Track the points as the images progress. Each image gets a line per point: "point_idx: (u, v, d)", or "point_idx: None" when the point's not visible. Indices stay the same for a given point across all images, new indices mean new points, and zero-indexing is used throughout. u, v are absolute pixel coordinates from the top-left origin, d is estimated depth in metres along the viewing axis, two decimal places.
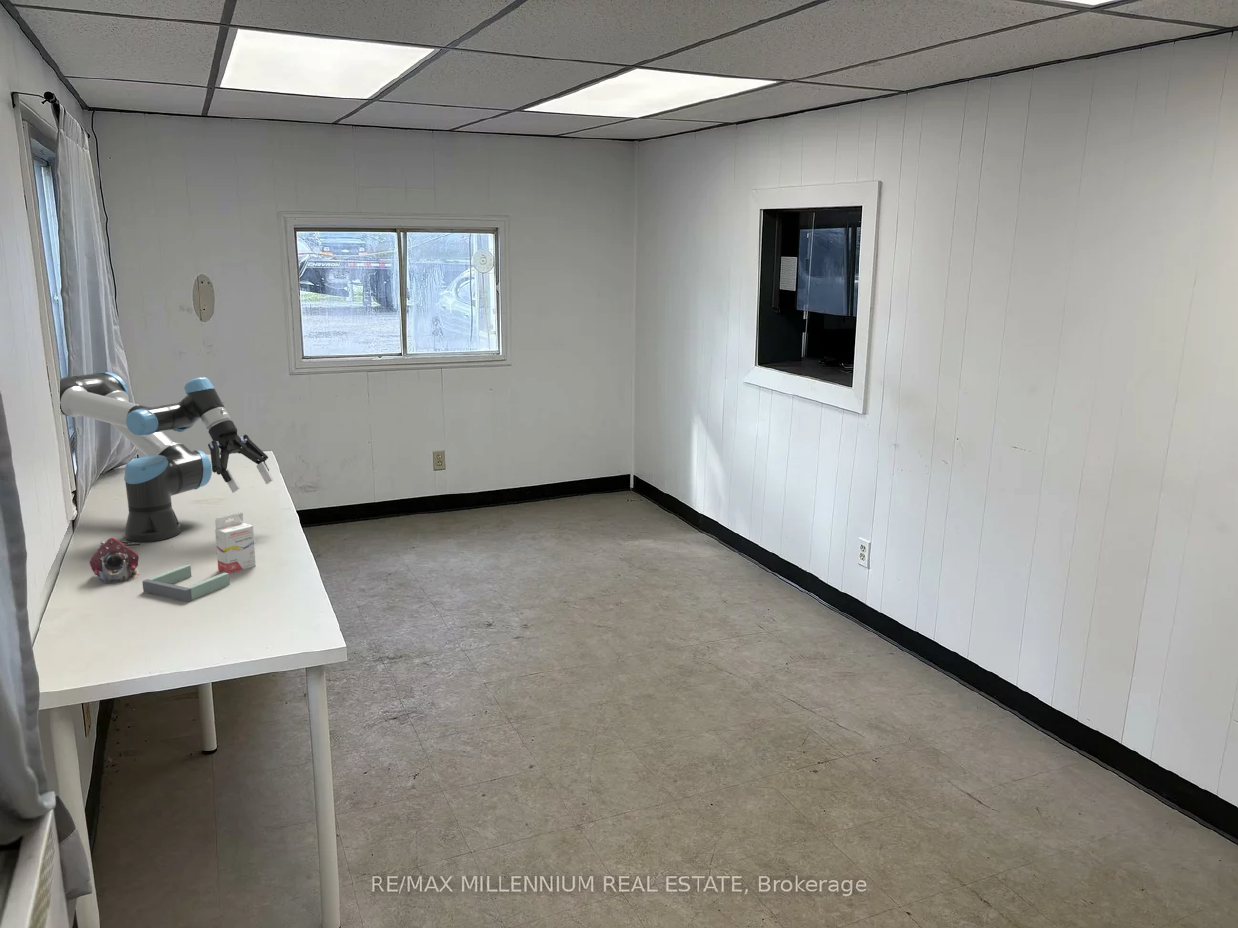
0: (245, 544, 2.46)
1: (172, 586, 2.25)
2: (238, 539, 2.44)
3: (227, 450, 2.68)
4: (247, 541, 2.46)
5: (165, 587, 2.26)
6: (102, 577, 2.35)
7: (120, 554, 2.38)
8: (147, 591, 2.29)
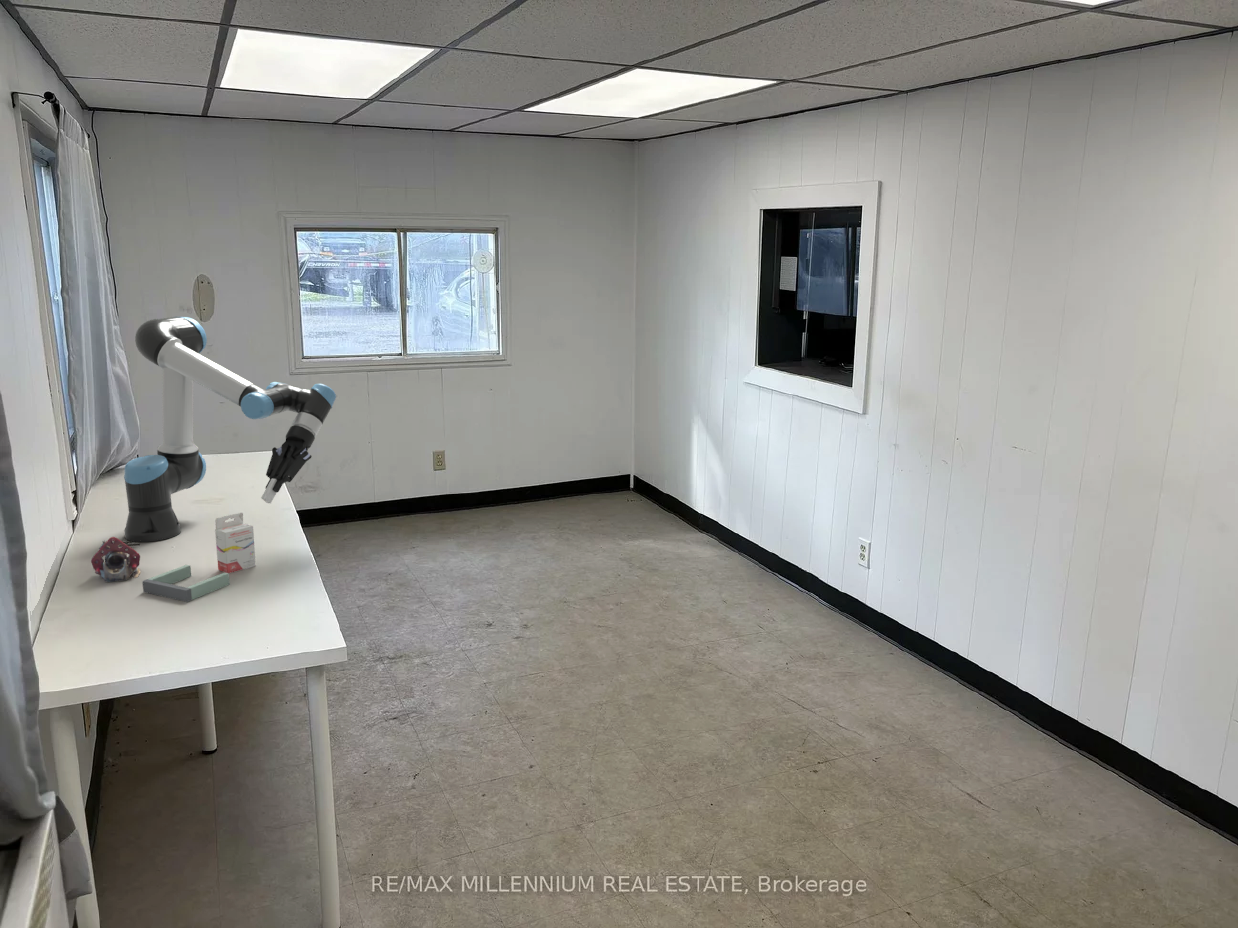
0: (245, 544, 2.46)
1: (172, 586, 2.25)
2: (238, 539, 2.44)
3: None
4: (247, 541, 2.46)
5: (165, 587, 2.26)
6: (103, 576, 2.36)
7: (121, 553, 2.39)
8: (147, 591, 2.29)
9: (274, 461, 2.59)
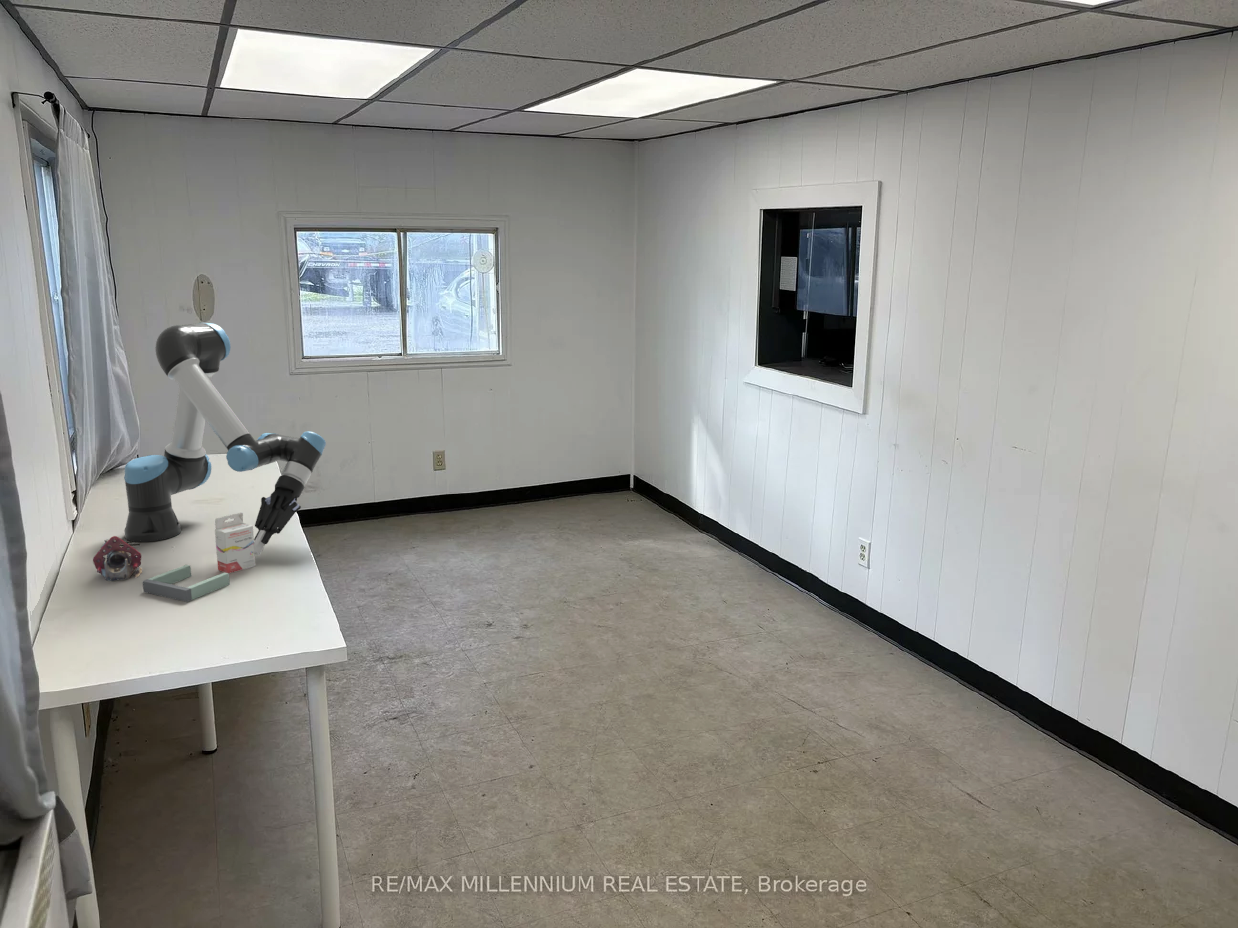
0: (245, 544, 2.46)
1: (172, 586, 2.25)
2: (238, 539, 2.43)
3: None
4: (247, 541, 2.46)
5: (165, 587, 2.26)
6: (104, 575, 2.37)
7: (123, 552, 2.40)
8: (147, 591, 2.29)
9: (263, 511, 2.57)
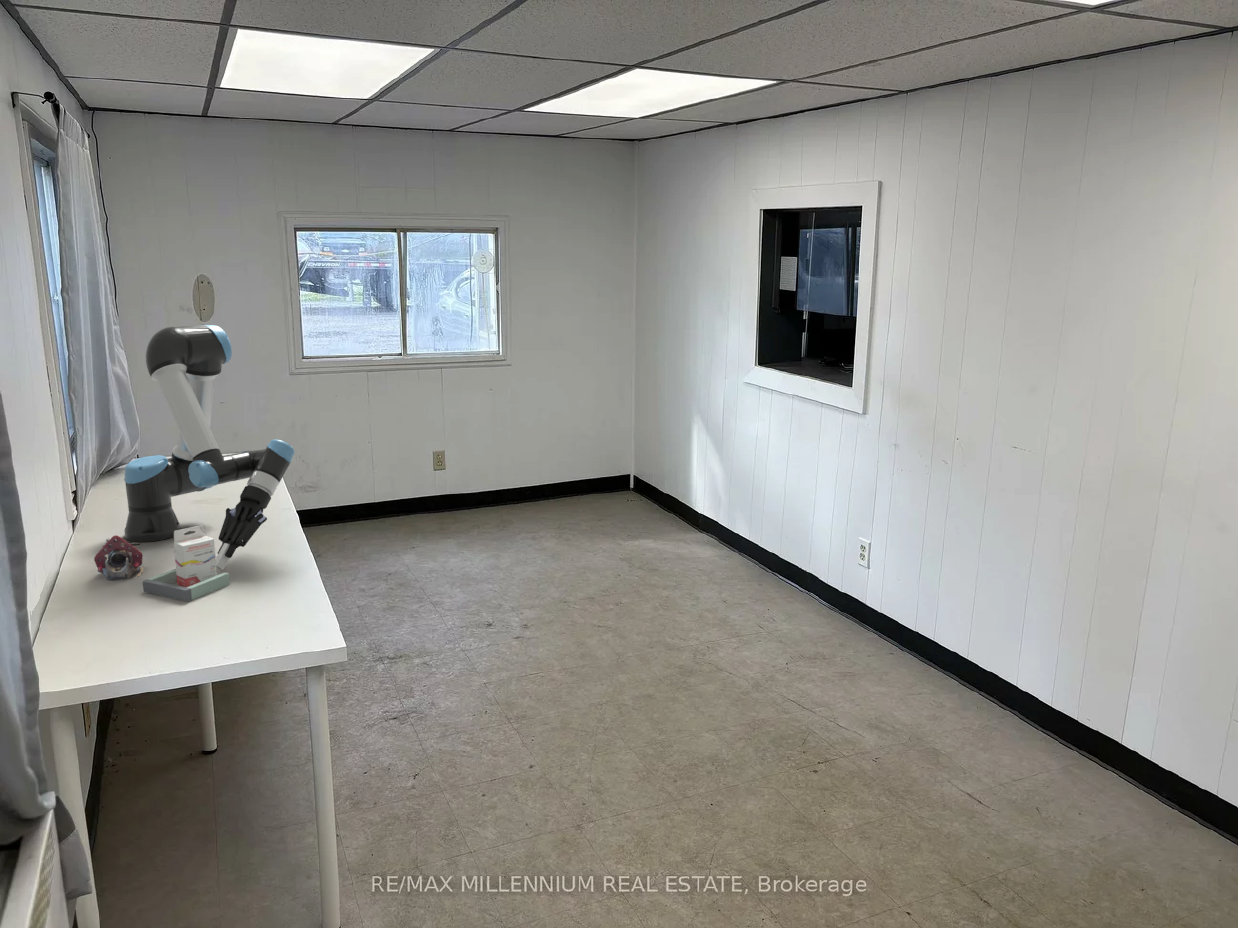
0: (205, 558, 2.34)
1: (172, 586, 2.25)
2: (197, 553, 2.32)
3: None
4: (208, 554, 2.34)
5: (165, 587, 2.26)
6: (105, 574, 2.37)
7: (124, 552, 2.40)
8: (147, 591, 2.29)
9: (227, 523, 2.46)
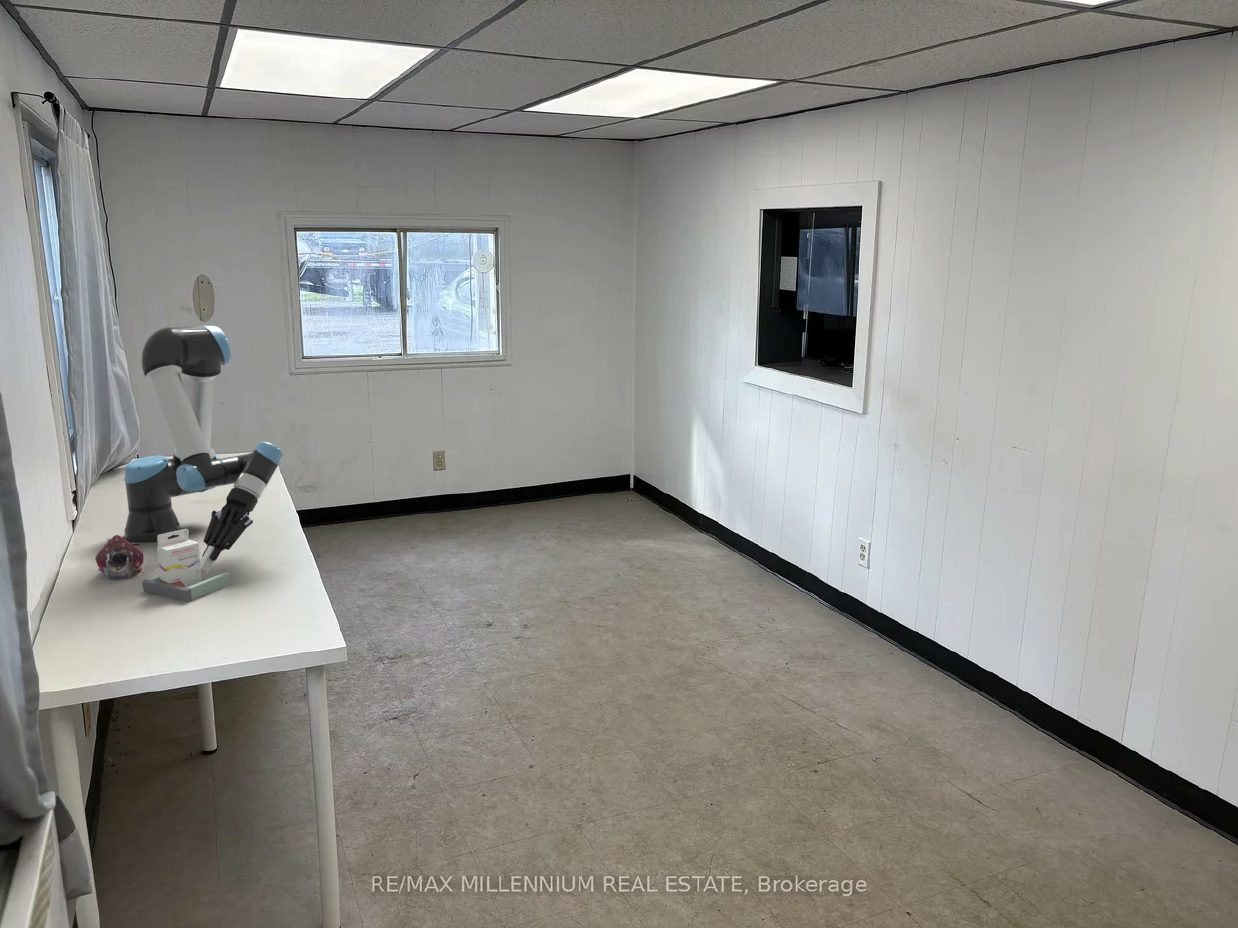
0: (190, 562, 2.31)
1: (172, 586, 2.25)
2: (181, 557, 2.29)
3: None
4: (192, 559, 2.31)
5: (165, 587, 2.26)
6: (106, 573, 2.38)
7: (125, 551, 2.41)
8: (147, 591, 2.29)
9: (213, 526, 2.42)
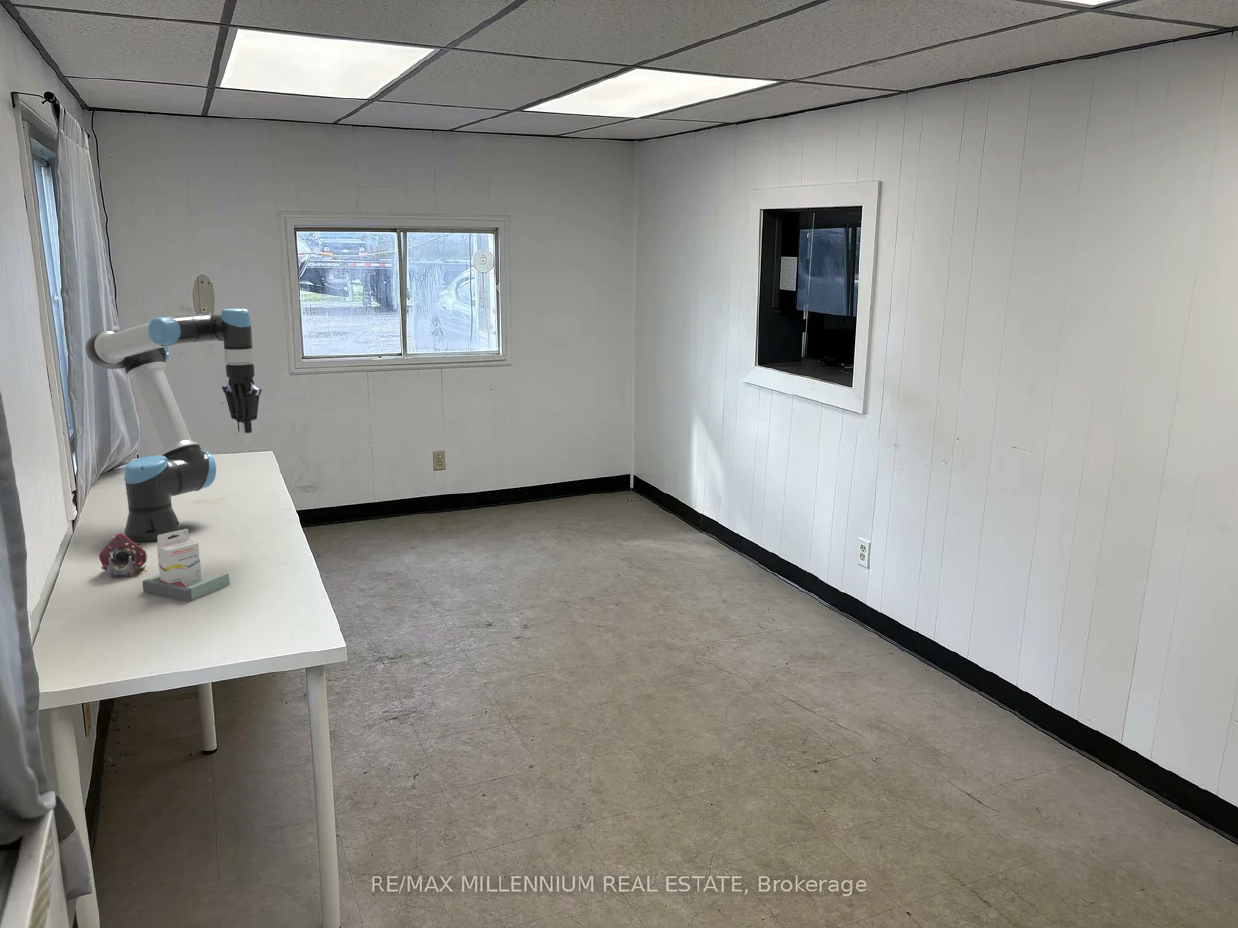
0: (190, 562, 2.31)
1: (172, 586, 2.25)
2: (181, 557, 2.29)
3: None
4: (192, 559, 2.31)
5: (165, 587, 2.26)
6: (109, 572, 2.39)
7: (128, 550, 2.42)
8: (147, 591, 2.29)
9: (231, 402, 2.63)
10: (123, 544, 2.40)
